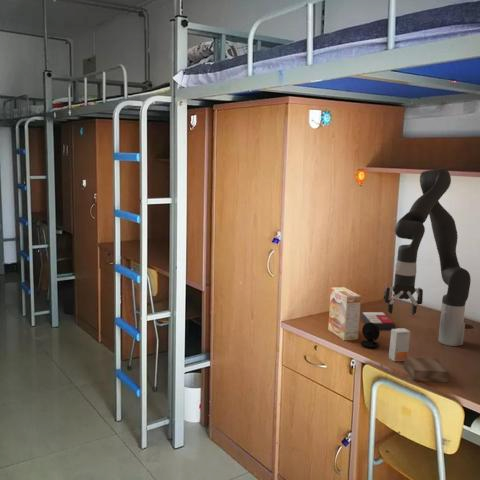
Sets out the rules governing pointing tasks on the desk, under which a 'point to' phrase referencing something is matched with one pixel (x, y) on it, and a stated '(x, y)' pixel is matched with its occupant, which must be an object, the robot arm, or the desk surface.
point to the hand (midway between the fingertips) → (401, 313)
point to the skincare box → (399, 344)
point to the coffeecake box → (344, 313)
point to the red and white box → (378, 320)
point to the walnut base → (426, 369)
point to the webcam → (370, 335)
